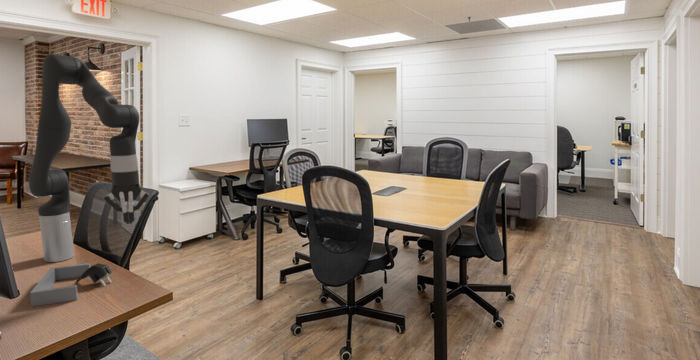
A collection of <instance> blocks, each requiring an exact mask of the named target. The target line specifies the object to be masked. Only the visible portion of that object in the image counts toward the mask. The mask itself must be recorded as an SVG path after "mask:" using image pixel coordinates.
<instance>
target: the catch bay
mask: <svg viewBox="0 0 700 360" xmlns="http://www.w3.org/2000/svg"><path fill="white" fill-rule="evenodd" d="M90 267H91V263H90V262H87V263H80V264H70V265H69V264H68V265H59V266H52V267H50V268H49V269H48V270H47V271H46V273H45V274H44V275H43V276H42V277H41V279H40V280H39V281H38V283H37V284H36V285H35V286H34V287H33V288H32V290H31V291H30V292H29V297H30V305H31V307H36V306H42V305H52V304H57V303H66V302H71V301H72V302H73V301H78V299H79V295H78V294H79V293H78V285H77V284H75V285H67V286H59V287H53V285H54V284H55V283H56V281H60V280H61V281H62V280H68V279H74V278H75V279H77V278H78V279H79V278H81V277H80V276H81V275H82V274H83V273H84V272H85V271H86V270H87V269H89V268H90ZM88 277H90V275H89V276H88Z"/></svg>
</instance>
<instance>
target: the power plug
mask: <svg viewBox="0 0 700 360" xmlns="http://www.w3.org/2000/svg"><path fill="white" fill-rule="evenodd" d="M112 273H113V271H112V269H111V268H110V267H109V265H108V264H102V263H100V262H97V263H95V264H93V265H92V266H91V265H90V268H89V269H87V270H86V271H85V272H84V273H83V274H82V275H81V276H80V277H78V279H77V280H76V283H79V282H80V281H82V280H84V279H85V278H87V277H90V279H91V281H92V282H93V283H94V284H96V283H98V282H100V283H101V285H102V286H103V287H106V286H107V284H106V282H105V281H104V280H103V279H106V280H107V281H108V283H109V284H111V283H112V282H113V281H112V280H111V278H110V277H109V275H111V274H112ZM89 275H90V276H89Z"/></svg>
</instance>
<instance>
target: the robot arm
mask: <svg viewBox="0 0 700 360" xmlns="http://www.w3.org/2000/svg"><path fill="white" fill-rule="evenodd" d="M41 72H42V75H41V80H42V81H41V85H42V86H41V87H42V88H41V103H40V110H39V111H40V112H39V118H38V124H37V132H36V133H37V135H36V145H35V151H34V157H33V161H32V165H31V169H30V174H29V178H28V187H29V191H30V193H31V195H32V196H34V197H37V198H43V197H44V198H45V197H50V196H51V197H50V199H49V200H47V202H45V203H44V204H42V205H40V206H39V207H38V209H37V212H38V220H39V227H40V236H41V243H42V252H43V260H44V262H47V263H55V262H56V263H57V262H63V261H66V260H70V259H72V258H73V257H75V252H74V241H73V233H72V224H71V214H70V206H71V200H70V199H71V198H70V182H69V176H68V174H67V173H66V172H65V170H63V169H61V168H55V169H51V166H52V163H53V161H54V160H55V159H56V157H58V155H59V154H60V153H61V152H62V151H63V149H64V148H65V147H66V146H67V144H68V143H69V140H70V135H71V128H72V120H71V117H70V115H69V113H68V111H67V110H66V108H65V107H64V105H63V103H62V102H61V99H60V92H59V91H60V88H59V87H60V85H61V84H62V85H74V86H75V85H77V86H79V87H81V88H82V90H81V95H82V98H83V100H84V101H85V103H87V105H88V106H90V107H91V108H92V109H93V110H94V111H95V112H96V114H97V116H98V117H99V120H100V122H101V123H102V125H103V126H105V127H107V128H111V129H121V128H122V130H121V133H120V134H117V135H115V136H111V137H110V138H109V153H110V168H109V169H110V172H111V185H112V187H111V190H110V193H109V194H106V195H105V196H104V197H103V198H104V199H103V200H104V201H105V202H107V203H108V205H110V206H111V207H112V208H113V209H114V210H115V211H116V212H121V213H122V214H123V215H122V216H123V222H124V223H126V225H131V224H133V222H135V220H136V219H135V212H136V211H138V210H139V209H141V207H142V206H143V204H144V203H145V202H146V200H147V199H148V197H149V195H150V193H149V192H146V191H144V190H143V189H142V187H141V185H140V175H139V163H138V158H137V149H136V140H137V133H138V129H139V125H140V113H139V111H138V109H137V108H136V106H134V105H131V104H119V101H118V99H117V98H116V96H115V95H114V94H112V93H111V91H109V90H108V89H107V88H105V87H104V86H103V85H102V83H100V81H98V80H97V78H96V77H95V75H94V74H93V73H92V72H91V70H90V68H88V66H87V64H85V62H83V60H81V59H80V58H78V57H75V56H70V55H63V54H54V53H53V54H52V53H51V54H47V55H46V56H45V57H44V60H43V63H42V71H41ZM138 196H139V197H140V200H139V201H138V202H137V204H136V205H135V201H136V200H137V198H138ZM114 199H117V201H119V202H120V204H119V203H118V202H117V201H116V200H114Z"/></svg>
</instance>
